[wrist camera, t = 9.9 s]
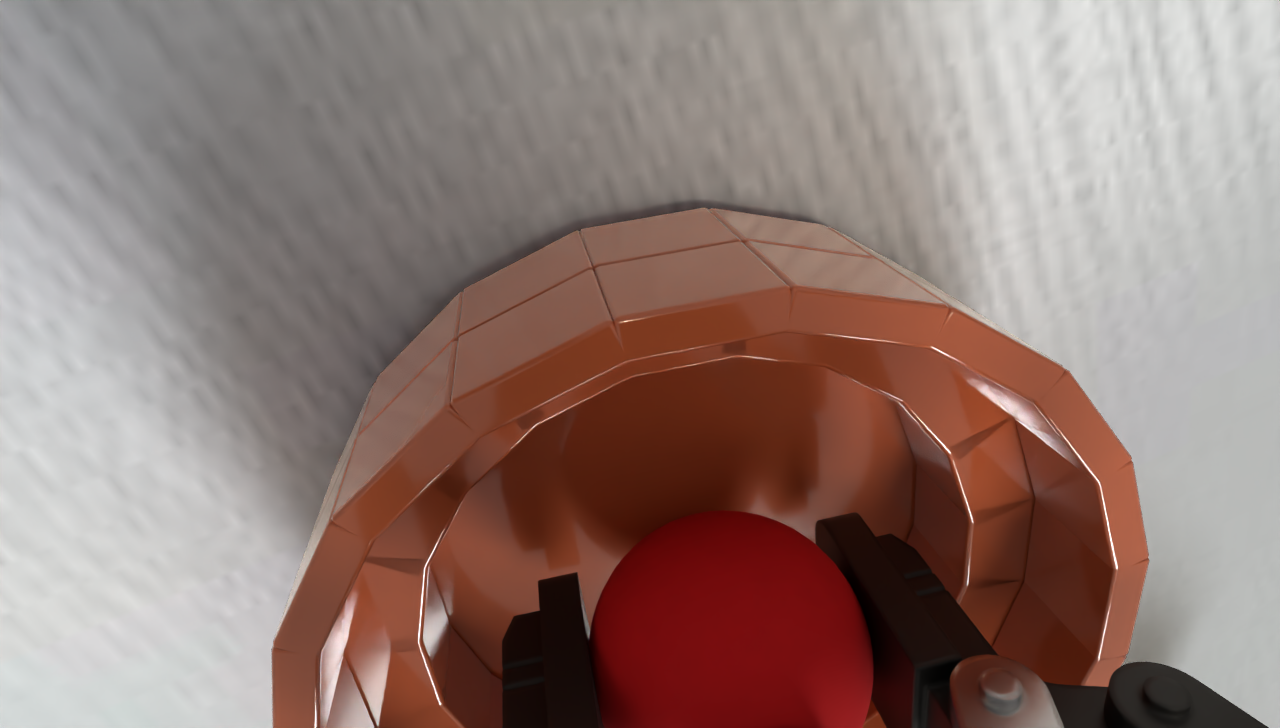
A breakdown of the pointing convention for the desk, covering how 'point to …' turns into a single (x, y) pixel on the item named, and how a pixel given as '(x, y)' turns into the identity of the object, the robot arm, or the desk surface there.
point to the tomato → (730, 631)
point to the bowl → (697, 459)
